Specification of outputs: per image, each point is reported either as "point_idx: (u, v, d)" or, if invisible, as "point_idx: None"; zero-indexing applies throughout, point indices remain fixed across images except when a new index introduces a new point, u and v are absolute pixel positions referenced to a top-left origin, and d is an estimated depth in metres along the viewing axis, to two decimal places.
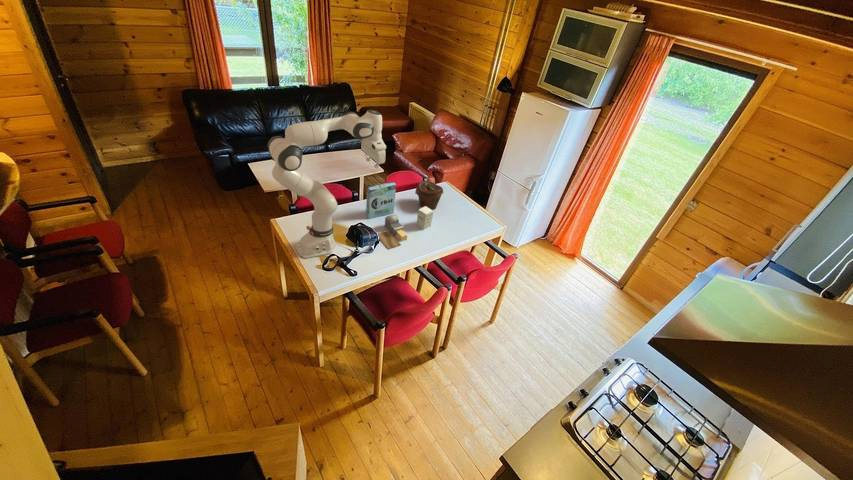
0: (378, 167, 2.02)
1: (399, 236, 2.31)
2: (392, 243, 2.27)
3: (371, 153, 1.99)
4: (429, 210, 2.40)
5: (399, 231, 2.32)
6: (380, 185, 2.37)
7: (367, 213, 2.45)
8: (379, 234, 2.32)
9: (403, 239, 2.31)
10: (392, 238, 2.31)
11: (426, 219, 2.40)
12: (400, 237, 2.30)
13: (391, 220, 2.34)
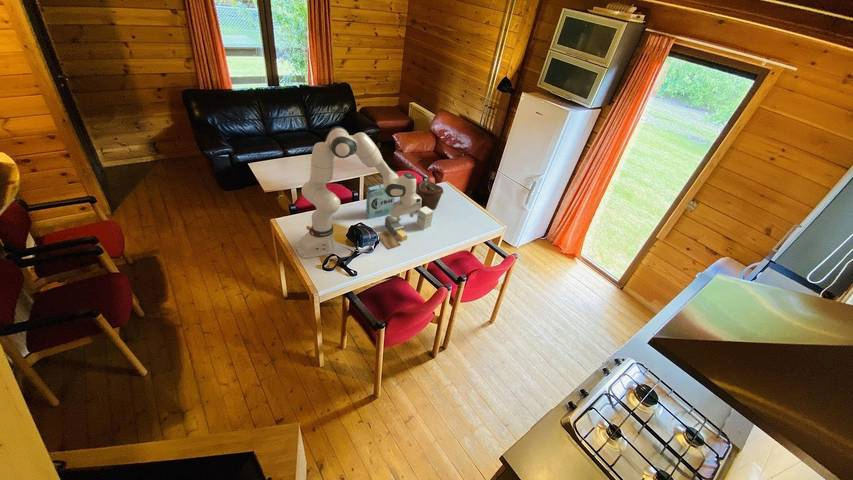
0: None
1: (399, 236, 2.31)
2: (392, 243, 2.27)
3: (410, 209, 2.18)
4: (429, 210, 2.40)
5: (399, 231, 2.32)
6: (380, 185, 2.37)
7: (367, 213, 2.45)
8: (379, 234, 2.32)
9: (403, 239, 2.31)
10: (392, 238, 2.31)
11: (426, 219, 2.40)
12: (400, 237, 2.30)
13: (391, 220, 2.34)
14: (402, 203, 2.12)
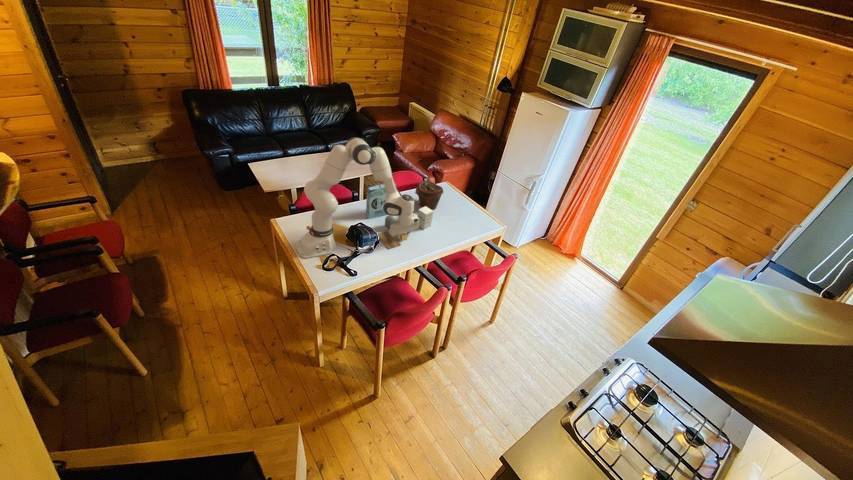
0: (407, 234, 2.33)
1: None
2: (392, 243, 2.27)
3: (408, 228, 2.27)
4: (429, 210, 2.40)
5: None
6: (380, 185, 2.37)
7: (367, 213, 2.45)
8: (379, 234, 2.32)
9: (403, 239, 2.30)
10: (392, 238, 2.31)
11: (426, 219, 2.40)
12: None
13: (391, 220, 2.34)
14: (400, 223, 2.21)
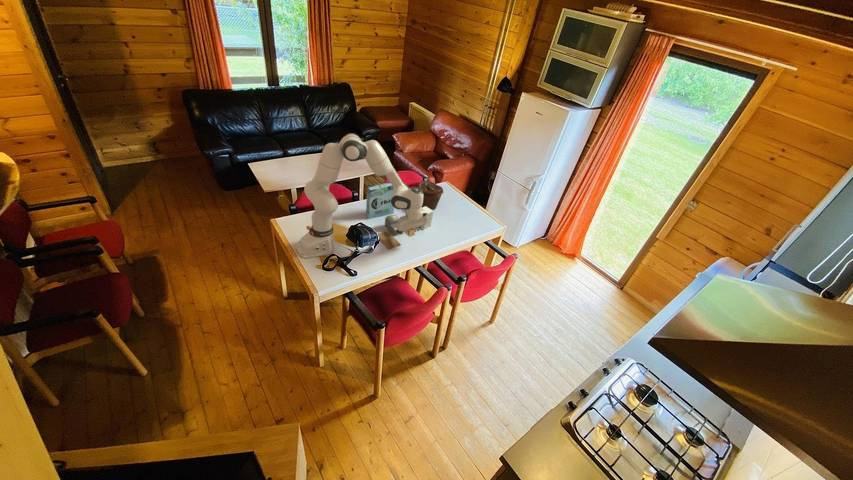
0: None
1: None
2: (392, 243, 2.27)
3: (416, 223, 2.16)
4: (429, 210, 2.40)
5: None
6: (380, 185, 2.37)
7: (367, 213, 2.45)
8: (379, 234, 2.32)
9: (411, 234, 2.20)
10: (392, 238, 2.31)
11: None
12: None
13: (391, 220, 2.34)
14: (408, 217, 2.10)
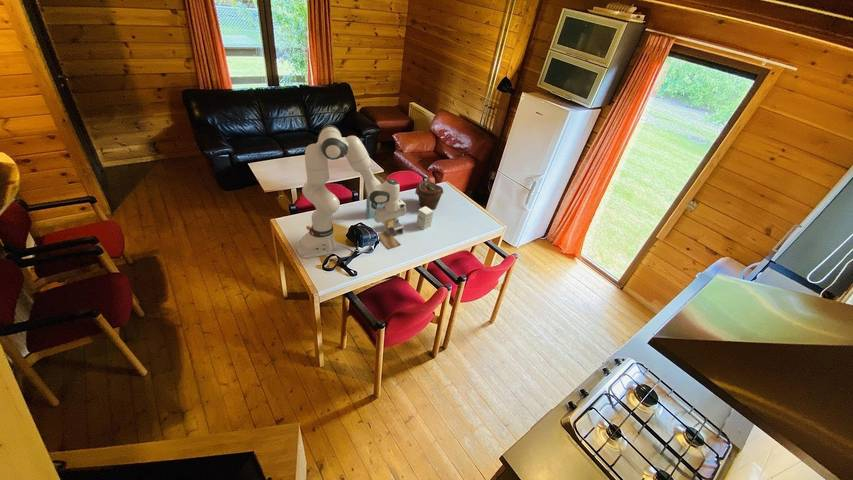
0: None
1: None
2: (392, 243, 2.27)
3: (394, 214, 2.17)
4: (429, 210, 2.40)
5: None
6: None
7: (367, 213, 2.45)
8: (379, 234, 2.32)
9: (389, 225, 2.21)
10: (392, 238, 2.31)
11: (426, 219, 2.40)
12: None
13: None
14: (386, 209, 2.11)
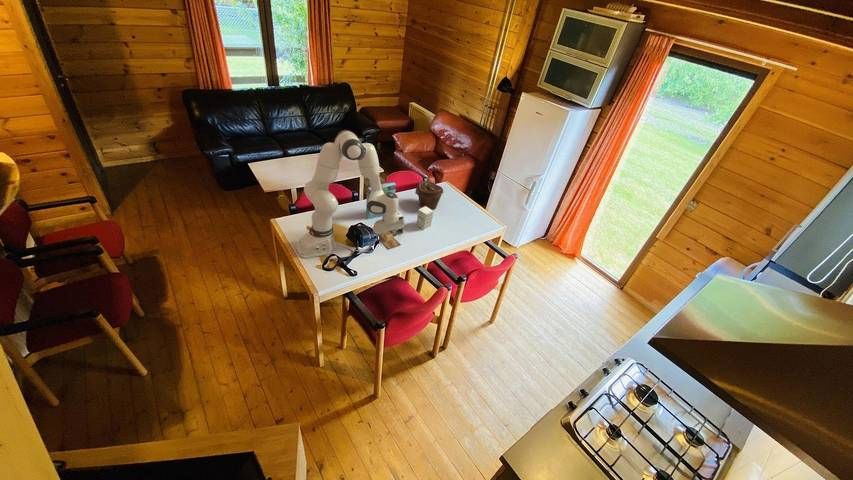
0: None
1: None
2: (392, 243, 2.27)
3: (392, 226, 2.23)
4: (429, 210, 2.40)
5: None
6: None
7: (367, 213, 2.45)
8: (379, 234, 2.32)
9: (388, 239, 2.27)
10: (392, 238, 2.31)
11: (426, 219, 2.40)
12: (385, 237, 2.27)
13: None
14: (384, 221, 2.17)
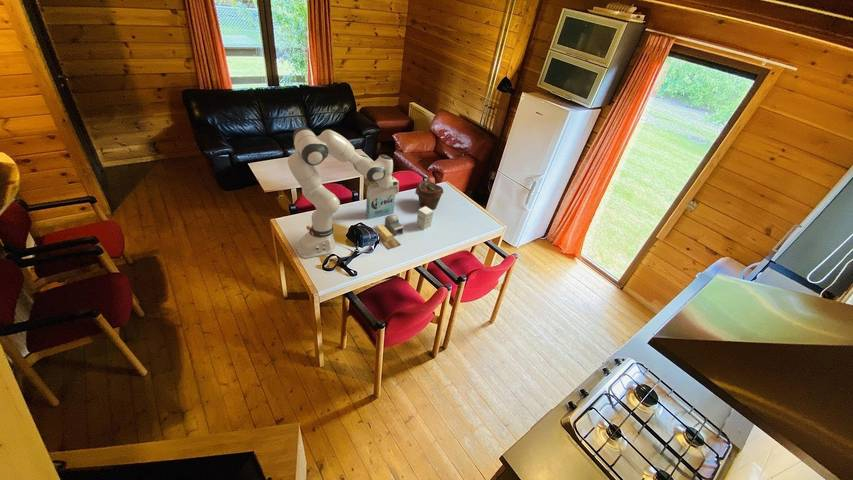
0: None
1: (384, 236, 2.28)
2: (392, 243, 2.27)
3: (386, 192, 2.16)
4: (429, 210, 2.40)
5: (384, 231, 2.29)
6: None
7: (367, 213, 2.45)
8: (379, 234, 2.32)
9: (388, 239, 2.27)
10: (392, 238, 2.31)
11: (426, 219, 2.40)
12: (385, 237, 2.27)
13: (391, 220, 2.34)
14: (378, 185, 2.10)
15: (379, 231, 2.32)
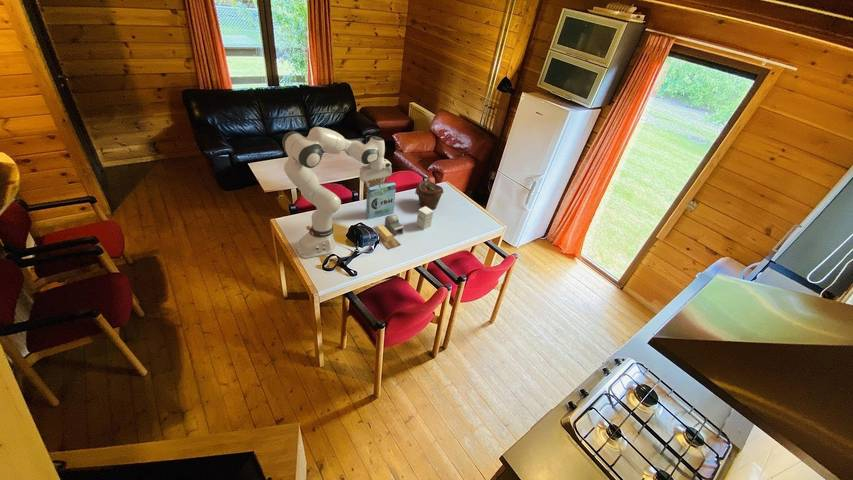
0: None
1: (384, 236, 2.28)
2: (392, 243, 2.27)
3: (379, 174, 2.16)
4: (429, 210, 2.40)
5: (384, 231, 2.29)
6: (380, 185, 2.37)
7: (367, 213, 2.45)
8: (379, 234, 2.32)
9: (388, 239, 2.27)
10: (392, 238, 2.31)
11: (426, 219, 2.40)
12: (385, 237, 2.27)
13: (391, 220, 2.34)
14: (371, 167, 2.10)
15: (379, 231, 2.32)
